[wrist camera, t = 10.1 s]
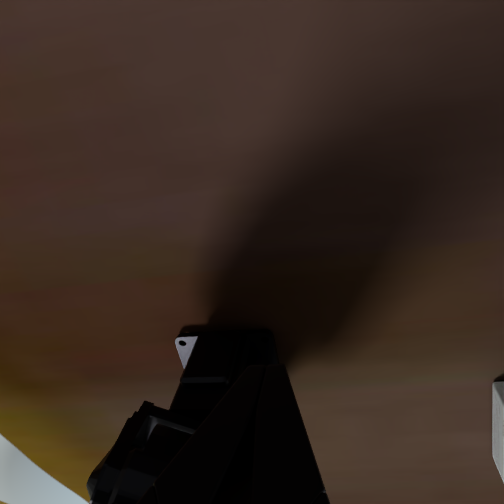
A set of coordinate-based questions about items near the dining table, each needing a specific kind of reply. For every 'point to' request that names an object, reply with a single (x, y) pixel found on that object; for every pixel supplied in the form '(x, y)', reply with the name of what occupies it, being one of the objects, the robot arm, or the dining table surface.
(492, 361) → the dining table surface
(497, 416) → the supplement box
